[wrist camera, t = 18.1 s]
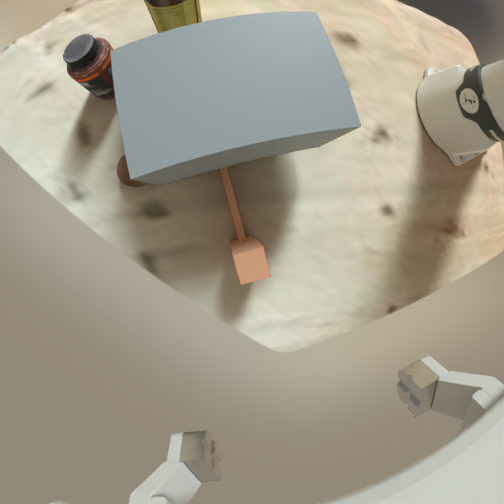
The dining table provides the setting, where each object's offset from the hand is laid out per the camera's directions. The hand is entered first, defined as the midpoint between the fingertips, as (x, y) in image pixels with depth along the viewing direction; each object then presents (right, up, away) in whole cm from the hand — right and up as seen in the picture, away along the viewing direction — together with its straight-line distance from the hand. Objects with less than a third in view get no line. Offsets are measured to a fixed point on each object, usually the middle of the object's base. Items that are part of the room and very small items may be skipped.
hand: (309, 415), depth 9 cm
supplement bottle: (-22, +30, +19) cm, 42 cm away
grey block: (-5, +23, +22) cm, 32 cm away
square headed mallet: (-4, +11, +25) cm, 28 cm away
